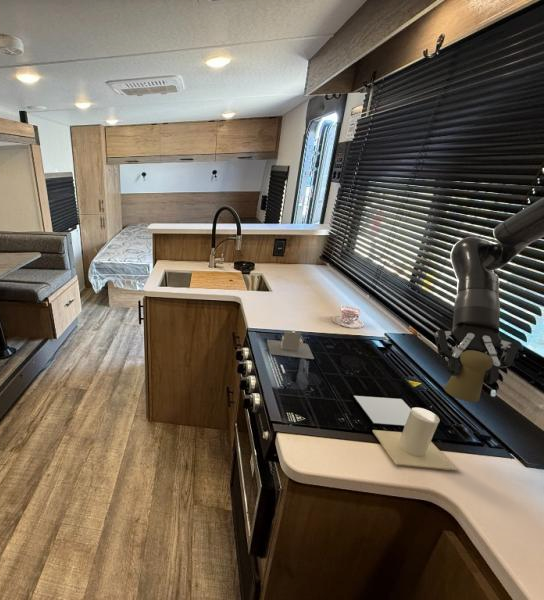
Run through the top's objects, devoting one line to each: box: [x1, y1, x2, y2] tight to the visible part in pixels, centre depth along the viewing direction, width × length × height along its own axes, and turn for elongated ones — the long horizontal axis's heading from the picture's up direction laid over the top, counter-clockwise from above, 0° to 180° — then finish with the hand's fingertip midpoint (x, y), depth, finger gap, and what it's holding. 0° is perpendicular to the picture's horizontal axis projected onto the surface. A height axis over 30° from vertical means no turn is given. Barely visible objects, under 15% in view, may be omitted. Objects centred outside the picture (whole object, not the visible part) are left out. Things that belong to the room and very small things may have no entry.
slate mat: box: [352, 395, 412, 428], centre depth 85 cm, size 13×11×1 cm
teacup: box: [331, 305, 365, 329], centre depth 135 cm, size 12×12×6 cm
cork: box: [443, 350, 494, 403], centre depth 70 cm, size 6×6×11 cm
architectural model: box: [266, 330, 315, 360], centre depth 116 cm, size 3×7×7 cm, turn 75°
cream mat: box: [372, 429, 457, 471], centre depth 73 cm, size 12×10×1 cm
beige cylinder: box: [398, 407, 441, 457], centre depth 71 cm, size 5×5×10 cm
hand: (472, 378), depth 69 cm, fingers closed on cork, 5 cm apart
